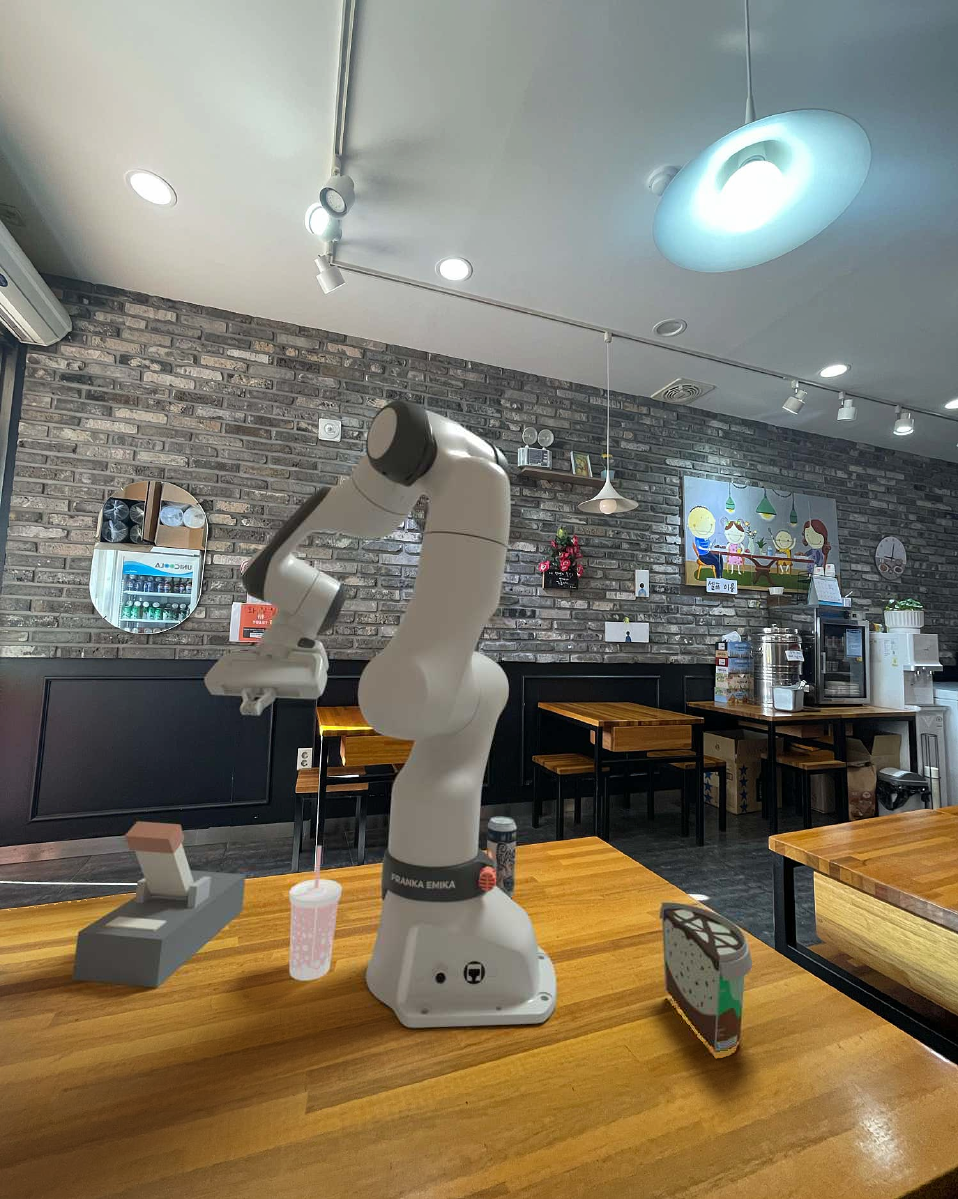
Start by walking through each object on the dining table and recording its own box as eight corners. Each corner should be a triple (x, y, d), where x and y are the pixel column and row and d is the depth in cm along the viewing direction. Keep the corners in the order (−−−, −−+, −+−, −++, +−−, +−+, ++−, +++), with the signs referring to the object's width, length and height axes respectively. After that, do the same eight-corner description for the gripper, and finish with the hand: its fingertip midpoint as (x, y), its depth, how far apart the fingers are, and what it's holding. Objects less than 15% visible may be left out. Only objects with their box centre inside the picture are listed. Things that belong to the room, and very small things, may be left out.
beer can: (503, 908, 80) (506, 826, 81) (478, 898, 83) (481, 820, 84) (519, 897, 84) (522, 820, 85) (495, 888, 86) (498, 814, 88)
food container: (783, 1066, 50) (780, 955, 51) (725, 1071, 49) (723, 958, 50) (706, 987, 62) (706, 898, 63) (659, 990, 61) (659, 900, 62)
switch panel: (242, 911, 75) (247, 856, 76) (156, 988, 57) (164, 915, 58) (176, 905, 76) (182, 851, 77) (72, 979, 58) (81, 908, 59)
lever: (200, 889, 68) (180, 824, 64) (190, 904, 66) (169, 839, 62) (159, 886, 69) (137, 821, 64) (148, 901, 67) (124, 835, 62)
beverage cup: (335, 951, 66) (343, 836, 67) (337, 980, 60) (346, 853, 62) (283, 958, 64) (294, 839, 66) (281, 988, 58) (292, 857, 60)
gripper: (220, 638, 94) (181, 697, 83) (330, 642, 93) (304, 702, 82) (231, 663, 98) (195, 722, 87) (337, 667, 97) (313, 727, 86)
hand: (249, 712), depth 85 cm, fingers closed
